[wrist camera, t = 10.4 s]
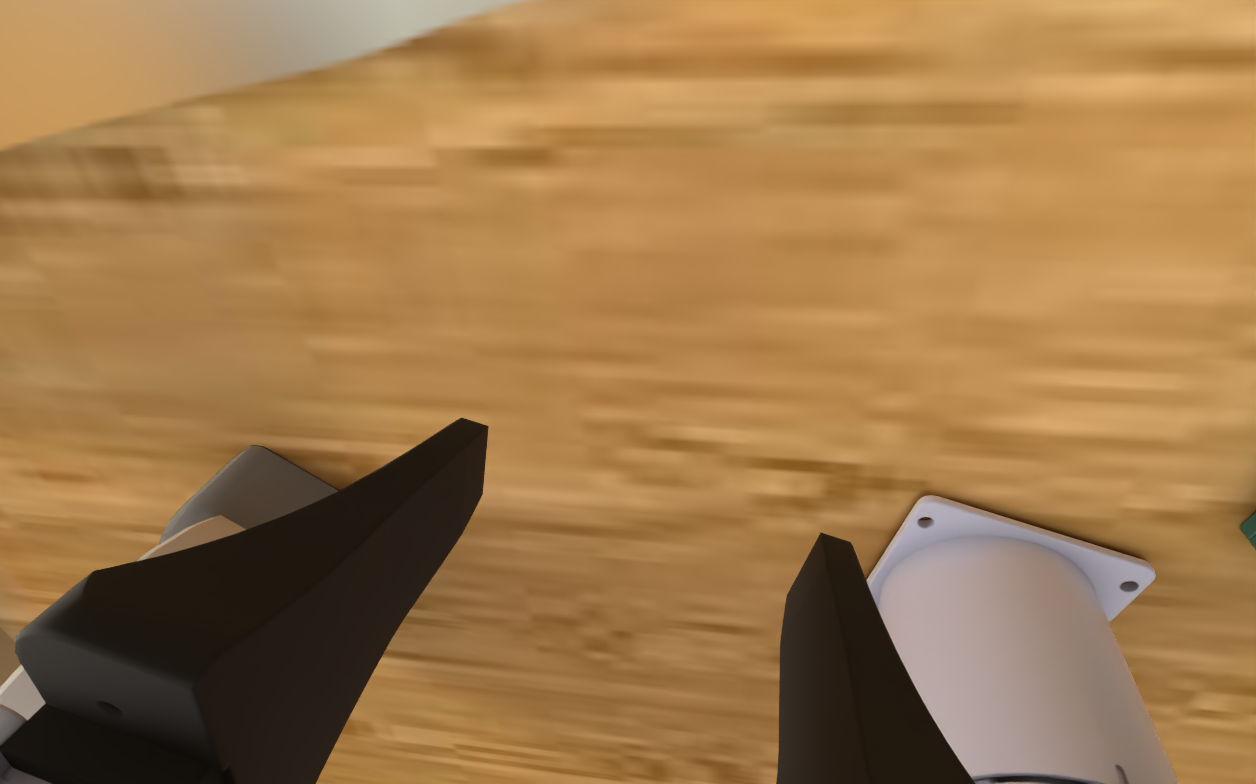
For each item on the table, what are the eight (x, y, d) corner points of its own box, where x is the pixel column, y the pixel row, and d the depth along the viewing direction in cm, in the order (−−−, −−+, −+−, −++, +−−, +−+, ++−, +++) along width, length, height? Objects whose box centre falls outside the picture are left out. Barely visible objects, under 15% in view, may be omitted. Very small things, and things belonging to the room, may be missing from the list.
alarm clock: (230, 399, 29) (-378, 844, 14) (428, 515, 30) (50, 1043, 15) (196, 578, 39) (-195, 960, 24) (348, 662, 39) (64, 1080, 25)
